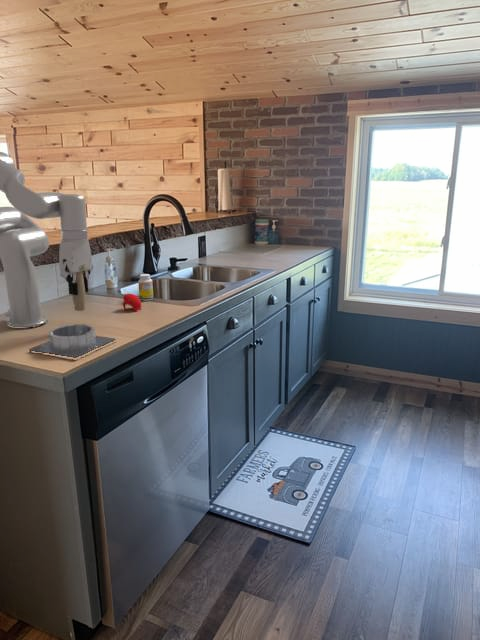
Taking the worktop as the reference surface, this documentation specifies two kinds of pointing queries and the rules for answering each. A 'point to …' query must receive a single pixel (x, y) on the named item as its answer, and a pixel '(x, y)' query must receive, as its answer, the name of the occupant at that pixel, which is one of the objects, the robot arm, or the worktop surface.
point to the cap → (132, 301)
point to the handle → (80, 291)
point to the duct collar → (72, 341)
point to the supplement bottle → (145, 287)
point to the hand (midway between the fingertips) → (78, 292)
